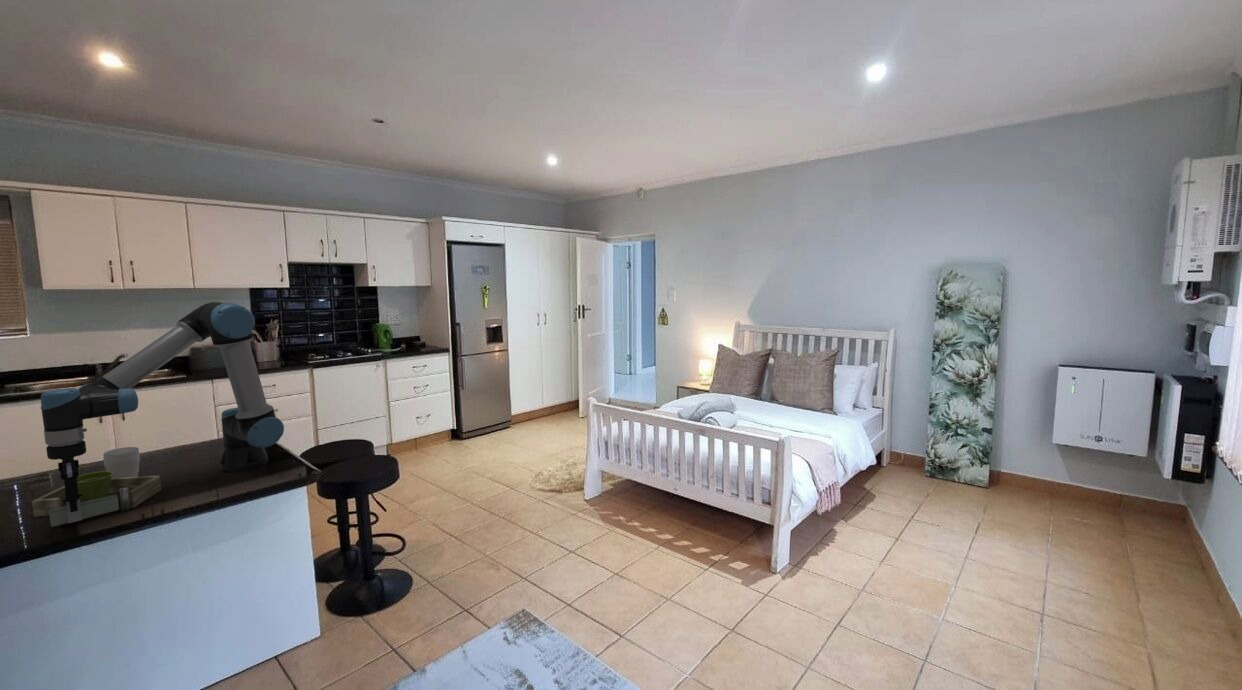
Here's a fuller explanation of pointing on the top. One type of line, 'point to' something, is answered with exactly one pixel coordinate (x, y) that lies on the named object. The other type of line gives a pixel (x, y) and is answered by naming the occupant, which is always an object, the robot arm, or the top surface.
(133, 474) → the cup
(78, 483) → the plant pot
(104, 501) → the gate
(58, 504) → the pen walls
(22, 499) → the top surface
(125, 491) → the hinge post
